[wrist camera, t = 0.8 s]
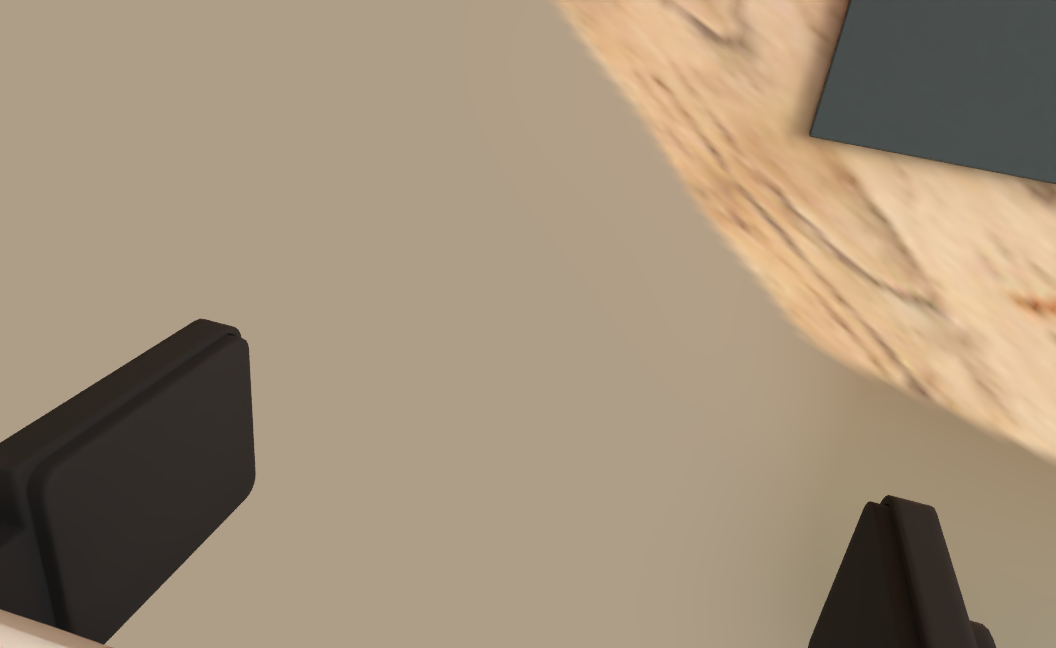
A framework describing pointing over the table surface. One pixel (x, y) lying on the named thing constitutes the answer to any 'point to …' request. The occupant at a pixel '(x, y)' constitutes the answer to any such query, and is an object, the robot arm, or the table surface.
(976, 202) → the table surface
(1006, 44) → the mat
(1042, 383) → the table surface
